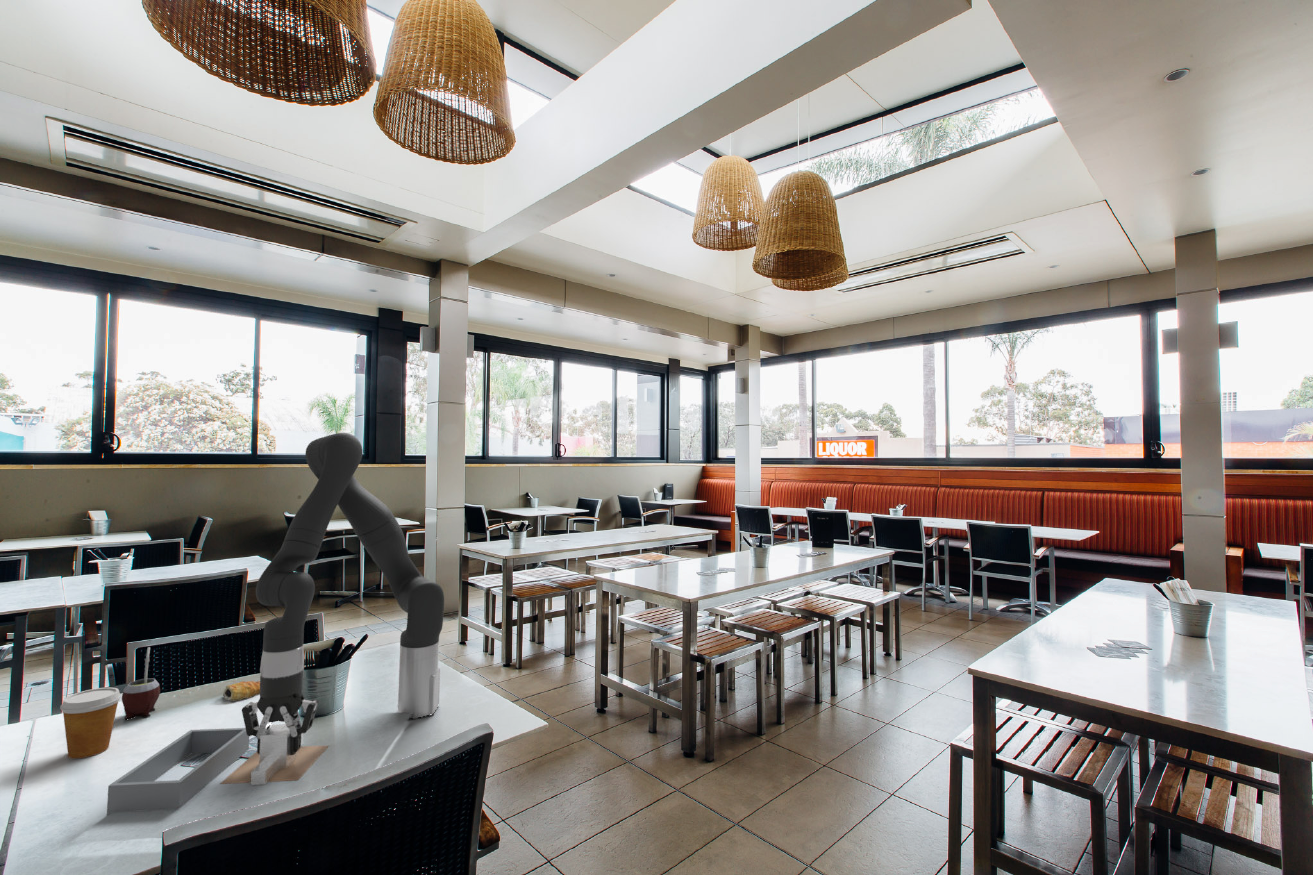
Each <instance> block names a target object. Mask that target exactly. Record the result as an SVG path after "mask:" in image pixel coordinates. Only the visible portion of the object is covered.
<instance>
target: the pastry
mask: <svg viewBox="0 0 1313 875" xmlns="http://www.w3.org/2000/svg"><path fill="white" fill-rule="evenodd" d="M222 695H223V697H224V700H227V701H230V702H238V701H242V700H243V699H249V698H252V697H256V696H257V695H258V696H259V695H260V680H258V681H253V680H250V681H245V680H244V681H243V680H242V681H240V682H236V683H235V682H234V683H233V684H228V685H227V686H225V689H224V690H223V694H222Z"/></svg>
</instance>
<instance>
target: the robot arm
mask: <svg viewBox="0 0 1313 875" xmlns="http://www.w3.org/2000/svg"><path fill="white" fill-rule="evenodd" d="M363 452H364V450H363V446H362V443H361V441H360V440H359V439H358V438H357V436H355V435H353V434H351V433H348V432H336V433H332V434H329V435H325V436H322V437H318V438H316V439H314V440H312V441H310V442H309V443H308V445H307V446H306V449H305V460H306V463H307V466H308V467H309V469H310V471H311V472H312V473H313V474H314V476H315V477H316V479H318V481H317V483H316V484H315V486H314V488H313V489H312V491H311V492H310V494H309V495H308V496H307V498H306V499H305V501H304V502H303V503H302V505H301V506H300V507H299V509H298V510H297V512H296V513H295V515H294V517H293V518H292V520H291V522H290V524H289V527H288V529H287V532H286V533H285V534H286V535H285V537H284V540H283V542H282V545H281V548H280V549H279V550H278V552H277V553H276V554H275V556H274V557H273V558H272V560H271V562H269V564H268V565H267V567H266V568H265V569H264V571H263V572H262V573H261V575H260V577H259V579H258V581H257V583H256V586H255V596H256V599H257V602H259V603H260V604H261V605H262V606H267V607H285V608H284V612H283V614H282V616H277V617H274V618H272V619H269V620H268V621H267V622H266V623H265V625H264V627H263V637H262V638H263V639H262V640H263V641H262V642H263V643H262V655H261V660H260V668H259V673H260V675H259V676H260V677H259V681H260V694H259V700H258V701H256V702H252V701H251V702H248V703H247V704H245V706H244V707H242V708H241V714H242V717H243V724H244V728H246V733H247V735H248V736H249V737H252V736H254V737H256V738H257V744H256V745H257V747H256V748H257V749H256V752H257V753H258V754H260V736H261V735H262V734H263V733H264V732H265V731H266V730H267V729H269V728H270V727H271V726H272V725H273V723H275V722H282V723H284V724H286V726H287V727H288V728H289V731H290V733H291V737H290V755H294V754H295V753H296V752H297V751H298V750H299V749H300V747H302V746H301V734H302V733H303V734H306V733H307V732H308V731H309V730H310V729H311V728H312V726H313V724H314V720H315V716H316V713H317V709H318V706H319V699H313V700H307V699H305V696H304V694H303V690H304V689H303V688H304V670H305V668H304V667H305V662H304V661H305V652H304V637H305V636H304V633H305V630H304V629H305V623H306V620H307V617H308V614H309V611H310V608H311V605H312V601H313V598H315V597H314V596H315V591H316V586H315V581H314V578H313V577H312V576H311V575H310V574H309V573H307V572H305V571H296V569H297V568H299V567H300V566H302V565H306V564H309V563H313V562H314V561H315V560H316V559H317V557H318V555H319V552H320V549H321V546H322V544H323V541H324V538H325V535H326V532H327V529H328V527H329V525H330V522H331V519H332V517H333V516H334V513H335V510H336V508H337V507H338V508H339V509H340V511H341V512H342V514H343V515H344V517H345V518H346V520H347V522H348V523H349V525H350V526H351V528H352V530H353V532H354V533H355V535H356V537H357V538H358V540H359V541H360V542H361V544H362V546H363V547H364V549H365V550H366V552H367V553H368V555H369V556H370V557H371V559H372V561H373V562H374V563H375V564H376V566H377V567H378V569H379V570H380V571H381V572H382V574H383V576H384V577H385V579H386V581H387V583H388V585H389V587H390V589H391V592H392V594H393V596H394V598H395V600H396V603H397V604H398V606H399V607H400V609H401V610H402V611H404V612H405V613H407V617H406V618H407V620H406V621H407V622H406V629H405V630H403V631H402V632H401V633H400V637H399V639H400V641H399V643H400V644H399V661H398V662H399V665H398V666H399V667H398V691H397V692H398V695H397V696H398V697H397V713H398V714H401V713H402V714H411V715H410V717H409V718H408V719H411V718H413V719H418V718H417V717H421V718H424V717H423V716H425V717H427V716H426V715H429V716H431V715H430V714H433V713H434V712H435V710H436V708H437V706H438V704H439V705H440V691H441V690H440V689H441V688H440V687H441V686H440V685H441V668H439V651H440V650H439V649H440V647H439V645H440V635H441V632H442V630H443V625H444V609H445V594H444V589H443V588H442V586H441V585H440V584H439V583H438V582H436V581H433V580H430V579H427V578H425V577H424V575H423V574H422V573H421V572H420V570H418V568H417V566H416V565H415V563H414V562H413V561H412V559H411V557H410V554H409V550H408V547H407V543H406V542H407V541H406V537H405V535H404V532H403V530H402V527H401V525H400V524H399V522H398V520H397V519H396V517H395V515H394V514H393V512H392V510H391V509H390V507H388V506H387V505H386V504H385V503H384V502H382V501H381V500H380V499H379V498H377V496H375V495H374V494H372V493H371V492H370V491H368V490H367V489H366V488H365V487H363V485H361V484H360V482H359V481H358V479H357V478H356V477H355V476H354V475H355V472H356V471H357V469H358V468H359V465H360V463H361V461H362V458H363ZM301 707H303V712H304V713H305V714H304V717H303V721H302V722H301V715H300V712H299V710H300V709H301ZM437 709H438V708H437ZM258 711H259V712H260V713H261V714H262V716H263V717H262V719H261V721H260V723H259V720H258V719H259V718H258V715H257V712H258ZM436 711H437V710H436ZM435 713H436V712H435ZM435 713H434V714H435ZM411 720H412V719H411Z"/></svg>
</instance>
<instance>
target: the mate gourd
mask: <svg viewBox="0 0 1313 875" xmlns="http://www.w3.org/2000/svg"><path fill="white" fill-rule="evenodd" d="M150 651H151V647H150V646H148V647H147V649H146V654H145V655H146V656H145V657H146V658H145V660H144V663H145V665H144V667H145V668H144V676H143V677H144V678H141V679H137V680H133V681H131V682H129V683H128V684H127V685H126V686H125V687H124V689H123V690H122V694H121V702H122V704H123V709H124V714H125V718H124V721H128V720H127V719H130V720H132V719H135V718H138V717H141V718H150V717H151V714H150V713H152V712H155V711H156V708H155V705H156V703H157V701H158V699H159V698H160V695H161V687H160V683H159V682H158V681H157V680H156V678H148V670H149V663H150V653H151V652H150ZM134 717H135V718H134ZM131 718H132V719H131Z"/></svg>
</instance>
